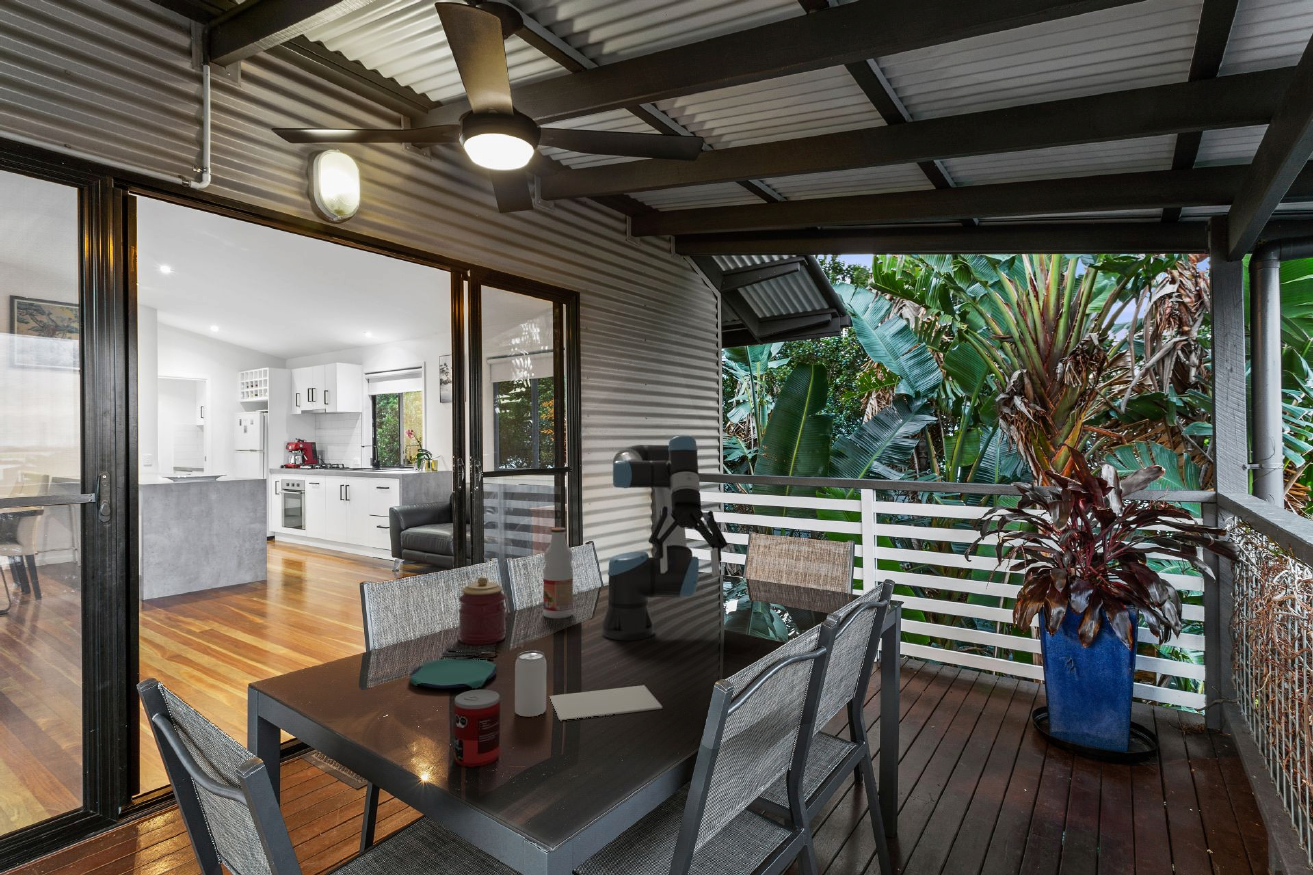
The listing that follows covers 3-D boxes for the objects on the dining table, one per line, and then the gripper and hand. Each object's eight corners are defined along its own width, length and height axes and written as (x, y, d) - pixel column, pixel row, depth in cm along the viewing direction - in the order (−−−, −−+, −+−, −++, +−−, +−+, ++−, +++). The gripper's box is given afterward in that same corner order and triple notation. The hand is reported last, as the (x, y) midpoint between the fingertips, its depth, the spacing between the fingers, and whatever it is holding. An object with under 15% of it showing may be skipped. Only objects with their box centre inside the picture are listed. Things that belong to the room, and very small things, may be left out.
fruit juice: (569, 619, 215) (570, 530, 215) (540, 618, 216) (540, 530, 216) (574, 611, 225) (575, 526, 225) (546, 610, 225) (547, 526, 225)
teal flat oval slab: (396, 693, 154) (396, 683, 154) (440, 653, 184) (440, 644, 184) (484, 695, 153) (485, 685, 153) (514, 655, 183) (514, 646, 183)
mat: (549, 697, 151) (549, 695, 151) (644, 686, 158) (644, 685, 158) (559, 721, 139) (559, 719, 139) (662, 708, 146) (662, 706, 146)
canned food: (458, 748, 127) (459, 689, 127) (502, 747, 127) (502, 688, 127) (449, 768, 119) (450, 705, 119) (496, 767, 120) (496, 704, 120)
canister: (482, 648, 186) (483, 583, 186) (448, 641, 192) (448, 578, 192) (515, 636, 197) (515, 575, 197) (481, 629, 203) (482, 570, 203)
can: (551, 708, 146) (552, 652, 146) (536, 720, 140) (537, 661, 139) (524, 704, 148) (525, 648, 148) (508, 715, 142) (509, 657, 142)
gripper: (644, 482, 169) (646, 565, 160) (735, 491, 177) (743, 572, 167) (635, 493, 176) (636, 574, 166) (723, 502, 183) (730, 580, 174)
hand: (690, 573), depth 167 cm, fingers open, 13 cm apart
